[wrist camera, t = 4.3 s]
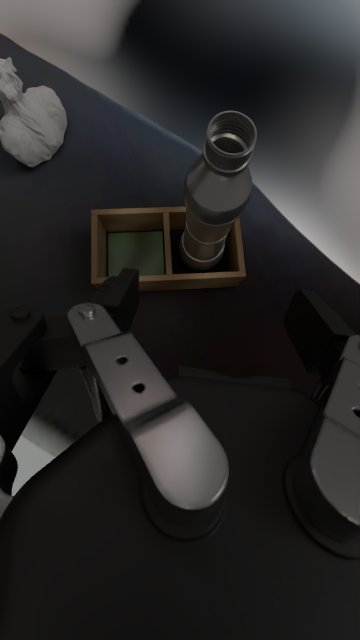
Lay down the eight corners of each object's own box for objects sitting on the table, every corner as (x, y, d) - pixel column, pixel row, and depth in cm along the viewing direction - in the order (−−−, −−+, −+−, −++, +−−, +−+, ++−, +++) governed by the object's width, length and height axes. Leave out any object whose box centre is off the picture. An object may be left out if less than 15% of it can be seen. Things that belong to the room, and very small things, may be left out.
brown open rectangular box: (101, 293, 35) (91, 283, 30) (101, 227, 36) (91, 209, 32) (236, 286, 36) (246, 276, 31) (230, 222, 37) (238, 204, 33)
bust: (68, 129, 42) (0, 47, 33) (87, 118, 37) (13, 18, 28) (28, 181, 40) (-55, 107, 31) (42, 176, 35) (-52, 87, 26)
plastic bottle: (221, 237, 37) (277, 96, 17) (219, 278, 36) (277, 179, 16) (180, 233, 37) (190, 88, 17) (177, 274, 36) (183, 169, 16)
